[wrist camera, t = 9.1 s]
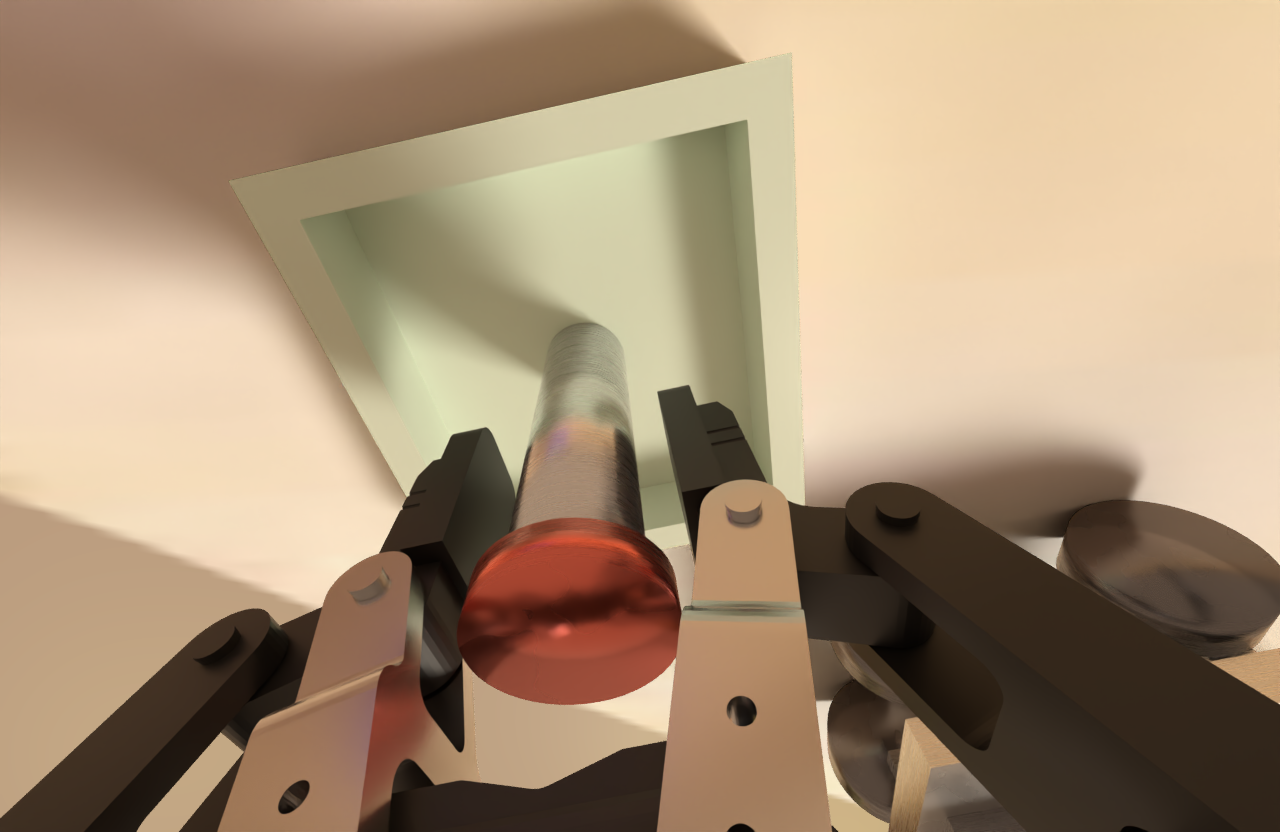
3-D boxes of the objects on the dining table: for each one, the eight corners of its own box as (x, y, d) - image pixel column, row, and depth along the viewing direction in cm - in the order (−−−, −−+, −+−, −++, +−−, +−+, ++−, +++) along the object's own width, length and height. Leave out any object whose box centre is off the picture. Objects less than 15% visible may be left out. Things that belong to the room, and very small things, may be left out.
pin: (520, 322, 15) (418, 587, 6) (625, 299, 15) (663, 539, 6) (550, 412, 16) (501, 720, 8) (646, 393, 16) (697, 683, 8)
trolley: (805, 561, 22) (930, 817, 14) (1169, 488, 22) (1517, 708, 14) (810, 708, 28) (898, 946, 20) (1094, 653, 28) (1303, 874, 20)
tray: (299, 169, 13) (227, 180, 10) (751, 66, 13) (791, 52, 10) (476, 529, 20) (459, 590, 17) (777, 467, 19) (805, 520, 17)
